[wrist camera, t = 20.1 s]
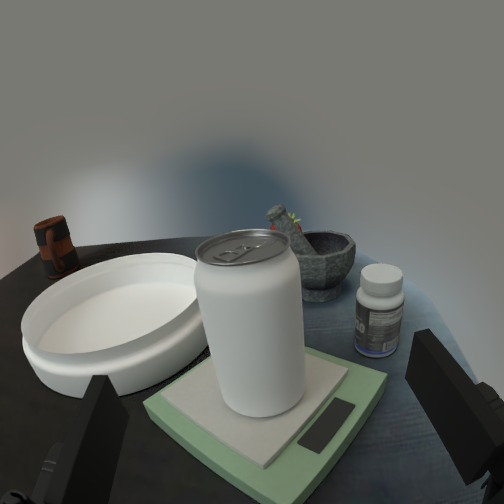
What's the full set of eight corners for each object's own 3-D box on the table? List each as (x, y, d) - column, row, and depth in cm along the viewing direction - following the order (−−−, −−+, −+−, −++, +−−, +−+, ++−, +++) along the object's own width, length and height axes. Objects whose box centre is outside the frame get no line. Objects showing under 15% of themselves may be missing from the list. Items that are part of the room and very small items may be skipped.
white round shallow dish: (106, 441, 22) (79, 399, 20) (10, 346, 35) (-6, 314, 33) (259, 298, 43) (254, 261, 41) (131, 272, 57) (124, 245, 55)
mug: (44, 289, 54) (26, 234, 49) (48, 270, 64) (33, 223, 59) (81, 277, 58) (65, 221, 53) (80, 260, 67) (67, 212, 63)
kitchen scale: (384, 392, 24) (389, 367, 23) (288, 520, 15) (286, 504, 14) (254, 343, 34) (250, 319, 33) (151, 419, 25) (139, 396, 23)
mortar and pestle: (355, 275, 45) (354, 194, 41) (354, 310, 37) (354, 213, 33) (281, 274, 49) (273, 196, 44) (264, 307, 41) (253, 215, 36)
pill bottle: (352, 332, 33) (354, 261, 30) (393, 330, 32) (400, 260, 29) (354, 360, 29) (359, 285, 26) (400, 357, 28) (412, 282, 25)
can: (322, 382, 23) (320, 234, 19) (265, 435, 19) (239, 278, 15) (262, 353, 28) (244, 221, 23) (205, 393, 23) (167, 252, 19)
